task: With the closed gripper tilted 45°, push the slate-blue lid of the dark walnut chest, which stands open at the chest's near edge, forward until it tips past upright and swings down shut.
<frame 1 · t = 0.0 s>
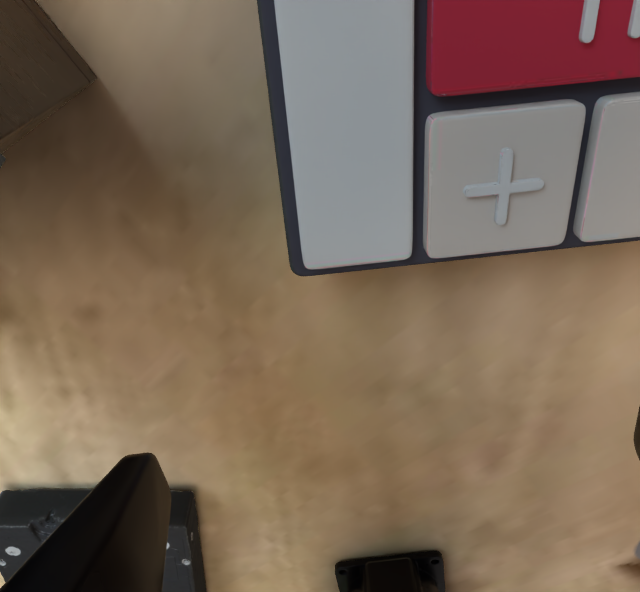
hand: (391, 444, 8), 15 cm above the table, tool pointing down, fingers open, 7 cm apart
calculator: (486, 72, 20), on the table
disk drive: (121, 563, 34), on the table
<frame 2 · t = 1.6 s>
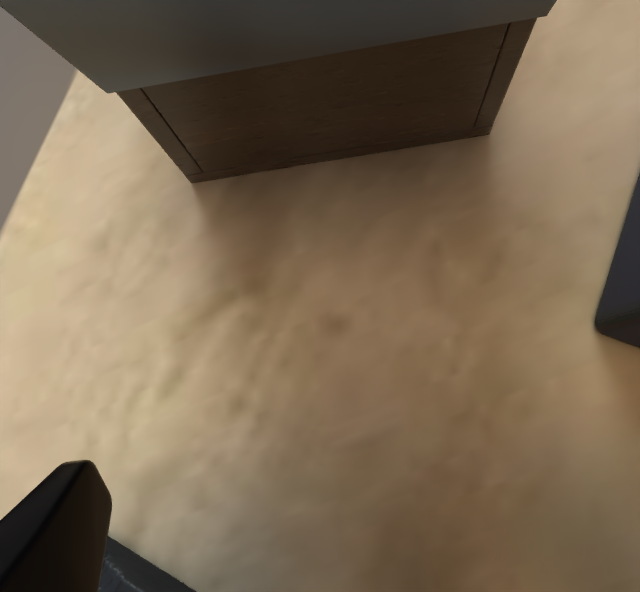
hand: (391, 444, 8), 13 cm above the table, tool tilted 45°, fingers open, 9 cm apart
chest: (316, 17, 25), on the table
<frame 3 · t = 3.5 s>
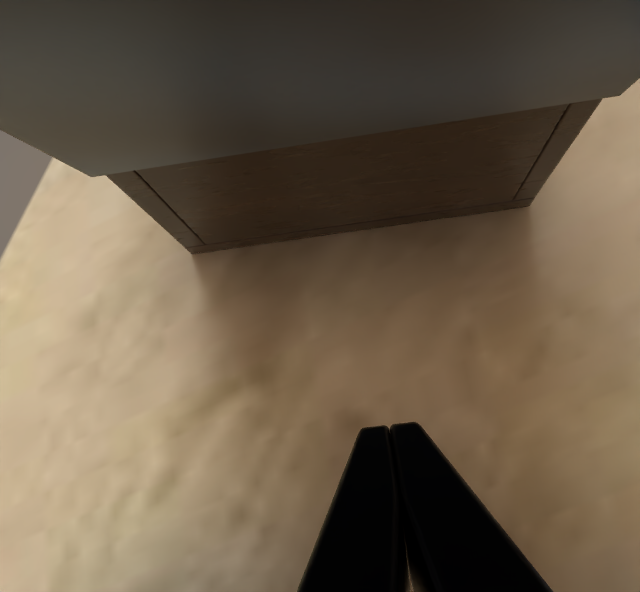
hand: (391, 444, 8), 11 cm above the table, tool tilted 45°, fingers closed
chest: (335, 70, 22), on the table
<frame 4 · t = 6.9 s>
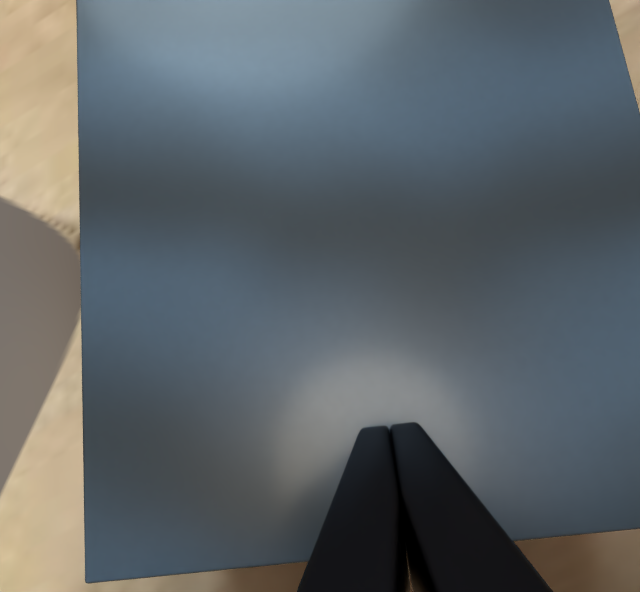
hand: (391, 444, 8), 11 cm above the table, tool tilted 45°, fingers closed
lid: (355, 206, 13), point 8 cm above the table, hinge at -0.2°
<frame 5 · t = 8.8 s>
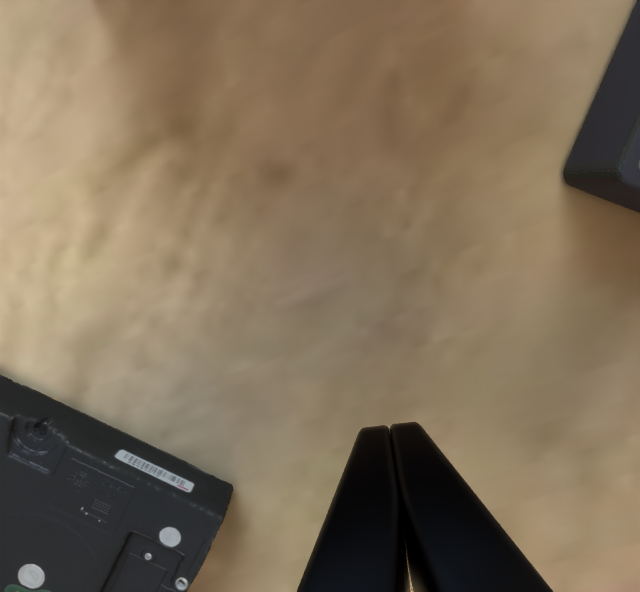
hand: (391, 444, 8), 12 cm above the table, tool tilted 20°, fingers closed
disk drive: (47, 574, 23), on the table
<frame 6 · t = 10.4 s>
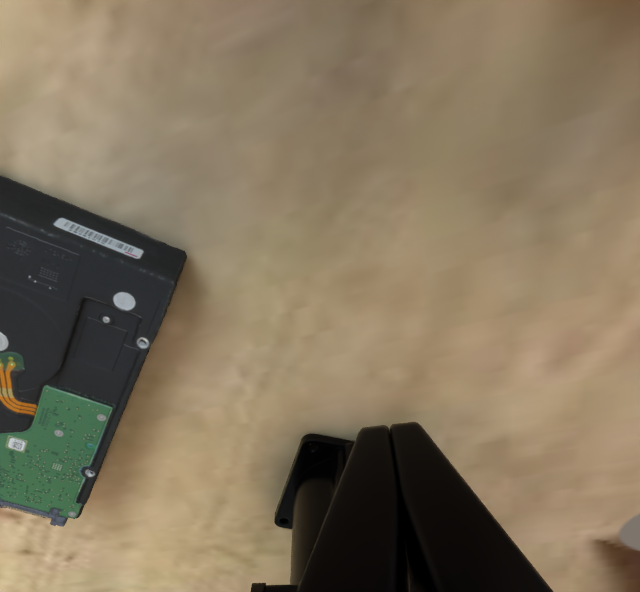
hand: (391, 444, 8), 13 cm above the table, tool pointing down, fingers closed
disk drive: (17, 339, 23), on the table
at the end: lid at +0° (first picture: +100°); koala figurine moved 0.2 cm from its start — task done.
